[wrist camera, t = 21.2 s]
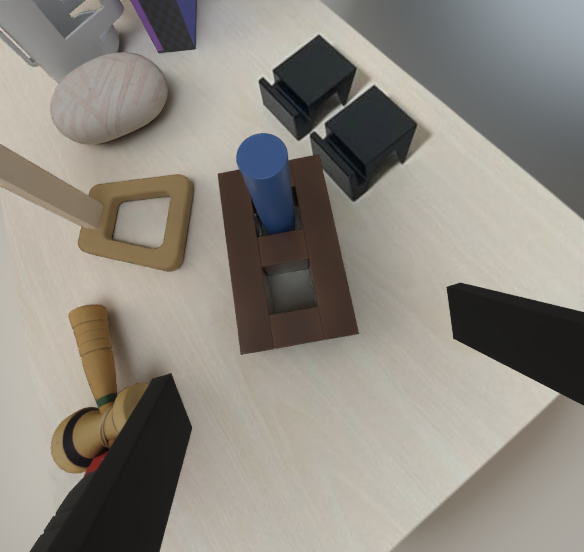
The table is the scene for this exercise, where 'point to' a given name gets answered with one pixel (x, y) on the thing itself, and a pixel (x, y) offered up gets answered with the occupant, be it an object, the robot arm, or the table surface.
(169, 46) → the cereal box
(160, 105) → the decorative stone
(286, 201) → the peg
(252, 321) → the rack
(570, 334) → the robot arm
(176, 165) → the table surface
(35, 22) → the cable organizer
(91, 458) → the kendama
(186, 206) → the headphone stand
